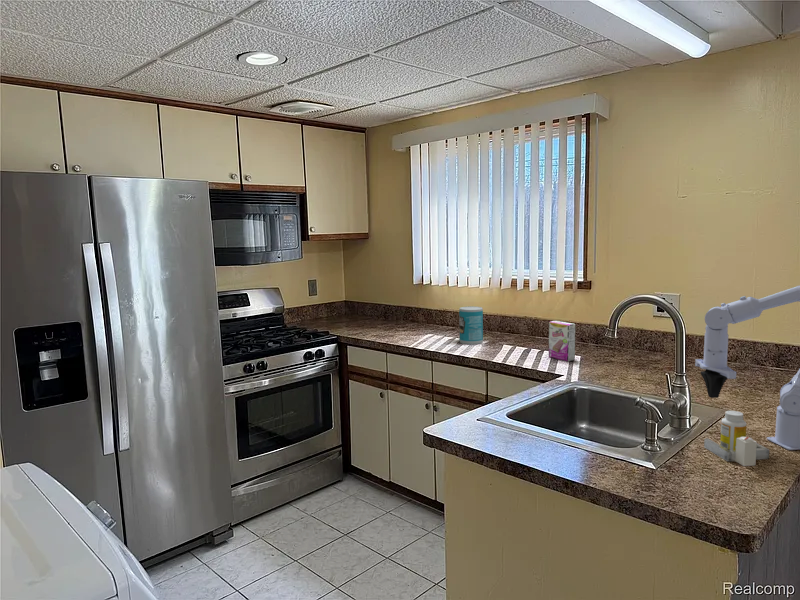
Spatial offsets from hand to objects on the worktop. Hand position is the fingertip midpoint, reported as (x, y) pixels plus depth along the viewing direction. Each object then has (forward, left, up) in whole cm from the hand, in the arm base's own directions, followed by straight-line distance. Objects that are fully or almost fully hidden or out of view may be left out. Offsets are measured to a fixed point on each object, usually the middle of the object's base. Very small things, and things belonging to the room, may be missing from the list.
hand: (713, 397), depth 154 cm
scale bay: (+4, +15, -10) cm, 18 cm away
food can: (+39, -133, -10) cm, 139 cm away
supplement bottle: (+4, +14, -10) cm, 18 cm away
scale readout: (+6, +21, -10) cm, 24 cm away
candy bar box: (+8, -90, -10) cm, 91 cm away
